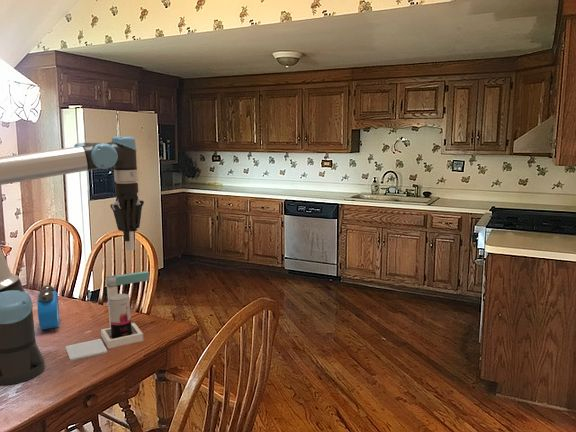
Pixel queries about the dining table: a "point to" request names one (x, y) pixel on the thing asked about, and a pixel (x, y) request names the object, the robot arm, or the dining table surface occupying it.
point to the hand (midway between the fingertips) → (130, 249)
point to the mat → (85, 349)
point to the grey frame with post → (121, 340)
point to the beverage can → (120, 315)
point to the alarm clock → (48, 308)
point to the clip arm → (127, 278)
